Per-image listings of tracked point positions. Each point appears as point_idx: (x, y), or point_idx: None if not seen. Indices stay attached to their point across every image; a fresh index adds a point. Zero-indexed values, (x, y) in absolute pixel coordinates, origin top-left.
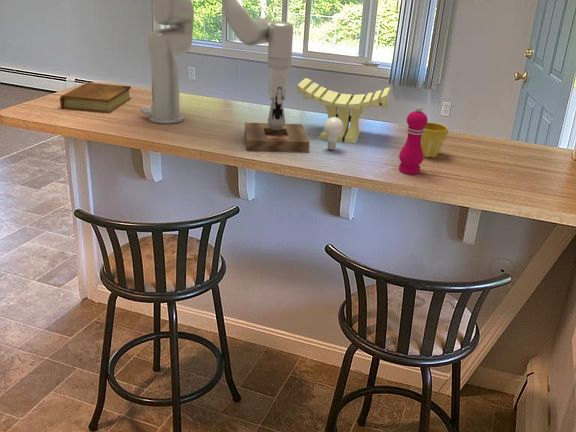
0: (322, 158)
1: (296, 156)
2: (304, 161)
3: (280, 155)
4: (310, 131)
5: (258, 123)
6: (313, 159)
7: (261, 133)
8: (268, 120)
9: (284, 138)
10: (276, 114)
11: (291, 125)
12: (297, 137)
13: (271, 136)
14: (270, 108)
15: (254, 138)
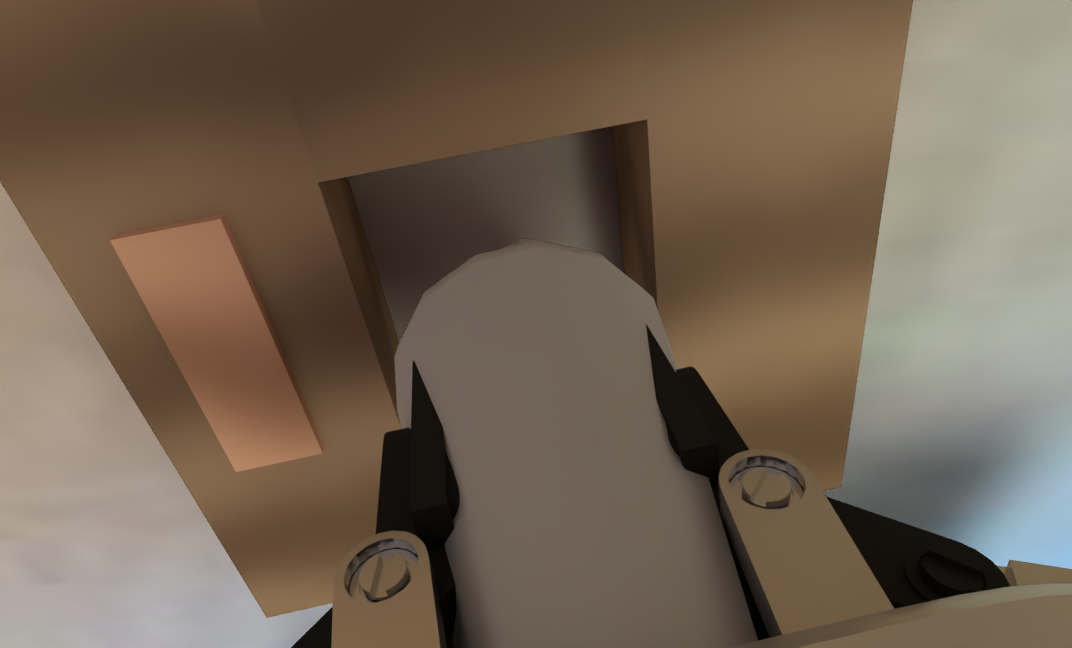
0: (183, 625)
1: (117, 474)
2: (16, 542)
3: (54, 349)
4: (860, 473)
5: (880, 6)
6: (118, 584)
7: (366, 120)
8: (471, 278)
9: (229, 432)
10: (386, 501)
11: (796, 412)
12: (368, 520)
13: (234, 284)
14: (579, 418)
15: (35, 38)
